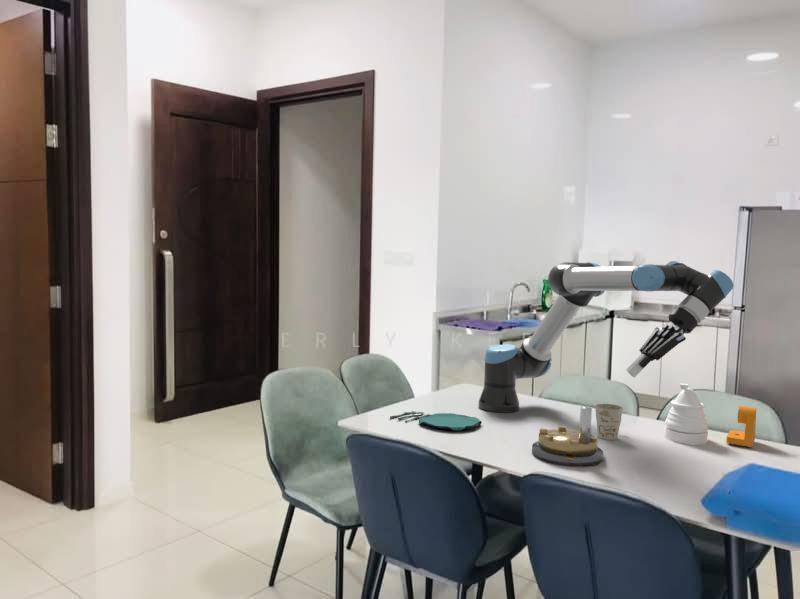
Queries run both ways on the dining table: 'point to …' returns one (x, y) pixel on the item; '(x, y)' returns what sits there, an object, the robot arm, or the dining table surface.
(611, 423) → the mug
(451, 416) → the cutlery set
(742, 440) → the bracket
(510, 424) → the dining table surface
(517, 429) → the dining table surface
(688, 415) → the honey pot
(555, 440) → the round peg stand
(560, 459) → the disc
